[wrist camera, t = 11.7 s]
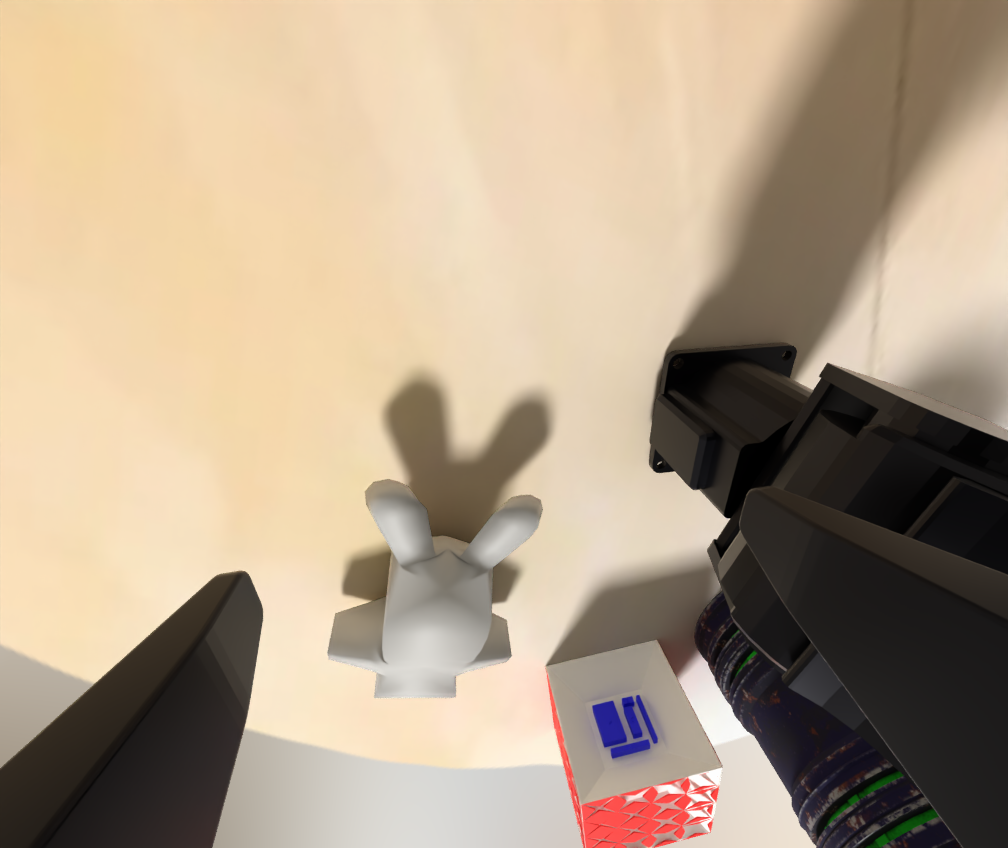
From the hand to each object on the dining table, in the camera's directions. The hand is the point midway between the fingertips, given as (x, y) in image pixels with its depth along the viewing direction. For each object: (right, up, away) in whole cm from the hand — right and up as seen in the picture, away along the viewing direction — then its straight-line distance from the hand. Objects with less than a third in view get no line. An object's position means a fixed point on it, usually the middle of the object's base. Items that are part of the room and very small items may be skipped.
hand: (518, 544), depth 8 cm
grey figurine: (-4, -6, +17) cm, 19 cm away
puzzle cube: (+7, -17, +25) cm, 31 cm away
